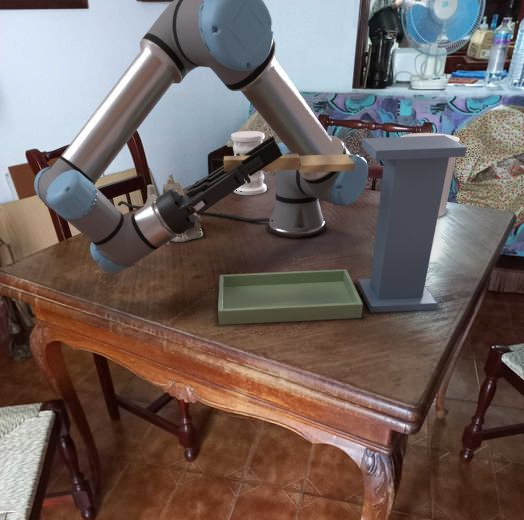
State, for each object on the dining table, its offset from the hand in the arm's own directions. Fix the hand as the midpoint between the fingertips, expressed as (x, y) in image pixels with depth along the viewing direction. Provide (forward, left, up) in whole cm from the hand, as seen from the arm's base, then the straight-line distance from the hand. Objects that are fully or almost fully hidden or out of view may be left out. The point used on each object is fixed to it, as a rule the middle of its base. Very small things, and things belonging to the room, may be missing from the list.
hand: (277, 145), depth 80 cm
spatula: (+1, +1, -4) cm, 4 cm away
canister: (+1, +71, -31) cm, 77 cm away
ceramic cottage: (-48, +16, -31) cm, 59 cm away
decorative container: (-55, +60, -31) cm, 86 cm away
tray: (+1, +1, -30) cm, 30 cm away
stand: (+17, +15, -30) cm, 38 cm away
